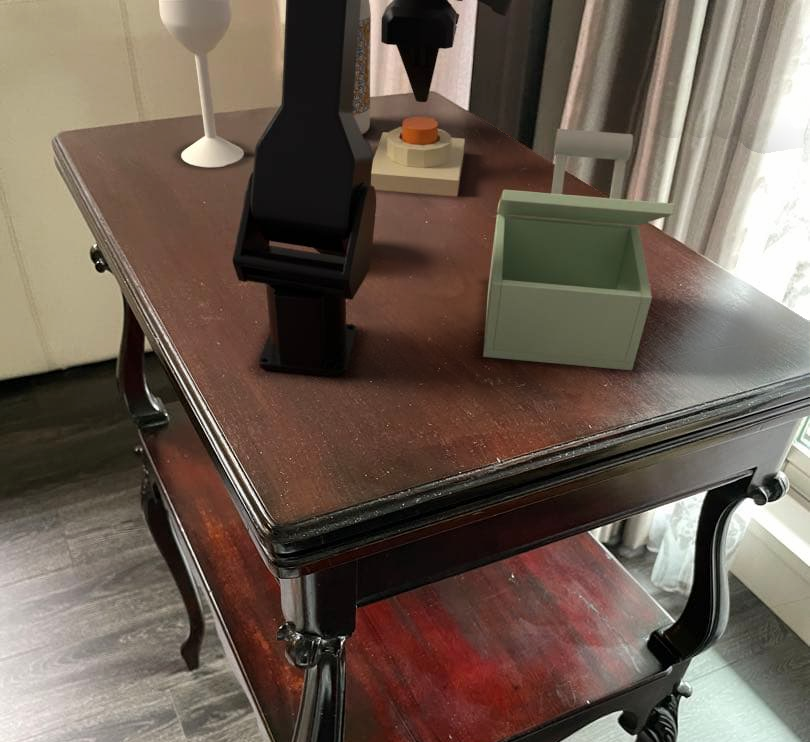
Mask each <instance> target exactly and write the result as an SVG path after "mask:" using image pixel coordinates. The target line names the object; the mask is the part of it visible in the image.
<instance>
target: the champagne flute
mask: <svg viewBox="0 0 810 742" xmlns="http://www.w3.org/2000/svg"><path fill="white" fill-rule="evenodd" d="M158 7H159V17H160V19H161V22H162V23H163V25H164V28H165V29H166V30H167V31H168V32H169V33H170V35H171V36H172V38H174V39H175V40H176V41H177V42H178V43H180V44H181V46H183V47H184V48H185V50H187V51H189V52H190V53H192V54H194V60H195V67H196V68H195V69H196V74H197V83H198V90H199V99H200V106H201V115H202V122H203V130H204V136H202V137H201V138H200V139H198V140H197V141H195V142H194V143H193V144H191V145H190V146H188V147H187V148H185V149H184V150H182V152H181V155H180V157H181V159H182V160H183V162H185V163H187V164H189V165H191V166H195V167H200V168H221V167H226V166H227V165H231V164H234V163H237V162H239V161H240V160H241V159H243V157H244V155H245V152H244V150H243V149H242V148H241V147H240V146H238V145H236V144H234V143H233V142H230V141H228V140H226V139H225V138H223V137H220V136H219V135H217V128H216V119H215V111H214V102H213V94H212V86H211V77H210V69H209V61H208V59H209V58H208V54H209V53H210V52H212V51H213V50H214V49H215V48H216V47H217V45H218V44H219V42H220V41H221V40H222V39H223V37H225V35H226V33H227V31H228V29H229V28H230V27H229V26H230V24H231V21H232V15H233V14H232V8H231V3H230V0H158Z"/></svg>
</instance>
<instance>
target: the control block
mask: <svg viewBox="0 0 810 742" xmlns="http://www.w3.org/2000/svg"><path fill="white" fill-rule="evenodd" d="M402 127H403V126H398V127H396V128H394V129H391V130H389V131H388V132H382V133H381V136H380V139H379V142H378V144H377V147H376V151H375V154H374V155H373V164H372V172H371V186H374V188H375V191H384V192H385V191H386V192H400V193H410V194H411V193H412V194H421V195H435V196H448V197H458V194H459V188H460V181H461V174H462V169H463V168H462V167H463V163H464V162H463V161H464V155H465V142H466V138H460V137H452V135H451V134H450V133H448V132H447V131H446V130H444V129H441V128H438V134H437V142H436V143H434V144H430V145H413V144H409V143H406V142H403V141H402Z"/></svg>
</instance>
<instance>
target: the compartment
mask: <svg viewBox="0 0 810 742" xmlns="http://www.w3.org/2000/svg"><path fill="white" fill-rule="evenodd" d="M643 250H644V249H643V245H642V238H641V234H640V229H639V225H630V224H618V223H606V222H594V221H583V220H571V219H559V218H547V217H535V216H523V215H511V214H500V213H497V214H496V220H495V228H494V236H493V245H492V251H491V260H490V262H491V263H490V269H489V277H488V278H489V279H488V288H487V298H486V299H487V301H486V314H485V326H484V340H483V352H482V353H483V354H482V356H483V358H492V359H493V358H494V359H504V360H514V361H523V362H524V361H526V362H536V363H547V364H555V365H556V364H558V365H567V366H580V367H590V368H600V369H602V368H603V369H612V370H622V371H633V368H634V364H635V362H636V358H637V353H638V349H639V346H640V343H641V340H642V336H643V333H644V329H645V324H646V321H647V319H648V318H647V317H648V314H649V310H650V307H651V304H652V303H651V302H652V299H653V296H652V291H651V285H650V281H649V275H648V270H647V265H646V261H645V255H644V251H643Z"/></svg>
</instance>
